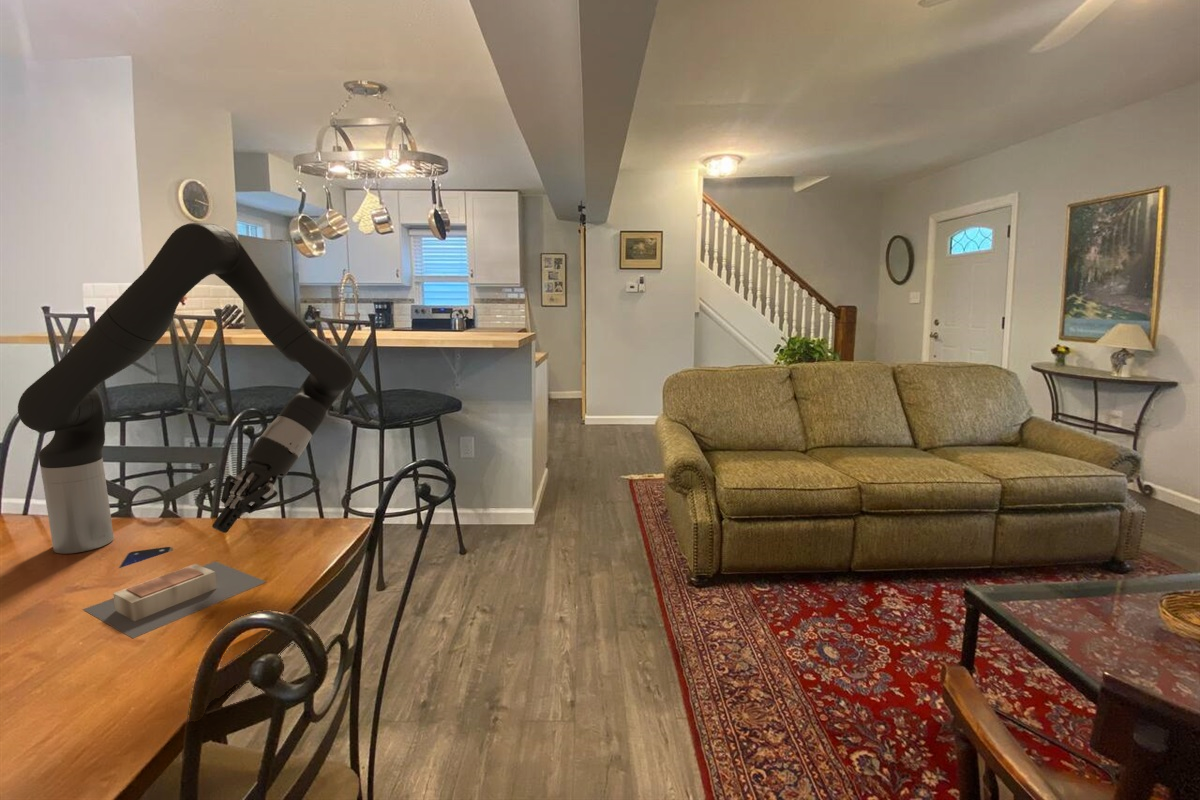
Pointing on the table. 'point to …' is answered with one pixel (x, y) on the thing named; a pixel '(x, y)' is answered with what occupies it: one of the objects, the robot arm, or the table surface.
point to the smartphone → (143, 555)
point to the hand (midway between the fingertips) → (218, 530)
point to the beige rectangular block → (164, 591)
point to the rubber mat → (227, 587)
